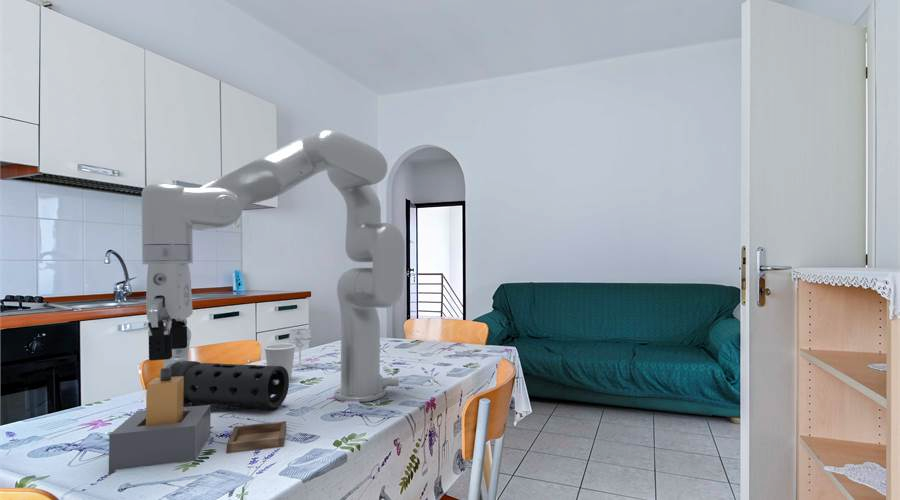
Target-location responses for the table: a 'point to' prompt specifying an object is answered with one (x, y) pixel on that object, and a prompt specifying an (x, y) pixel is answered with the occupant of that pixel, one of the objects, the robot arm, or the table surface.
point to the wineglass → (300, 340)
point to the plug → (164, 399)
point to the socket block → (159, 440)
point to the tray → (256, 437)
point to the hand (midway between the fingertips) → (169, 353)
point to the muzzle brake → (232, 384)
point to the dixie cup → (280, 356)
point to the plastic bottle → (179, 352)
